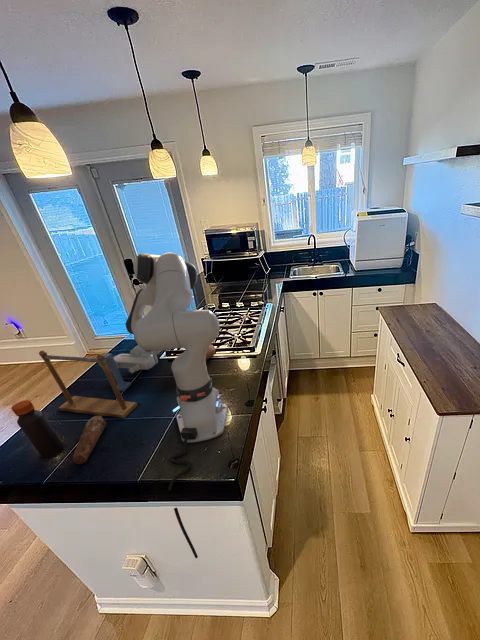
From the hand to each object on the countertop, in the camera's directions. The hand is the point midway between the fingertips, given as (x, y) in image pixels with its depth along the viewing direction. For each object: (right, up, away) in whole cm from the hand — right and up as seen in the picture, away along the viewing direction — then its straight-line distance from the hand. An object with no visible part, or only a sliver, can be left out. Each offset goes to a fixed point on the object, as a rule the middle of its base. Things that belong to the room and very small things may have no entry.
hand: (120, 371), depth 135 cm
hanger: (0, -8, +1) cm, 8 cm away
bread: (+6, -27, -28) cm, 39 cm away
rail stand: (-4, -15, -10) cm, 18 cm away
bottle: (-7, -29, -29) cm, 41 cm away
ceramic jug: (+29, +7, +20) cm, 36 cm away
